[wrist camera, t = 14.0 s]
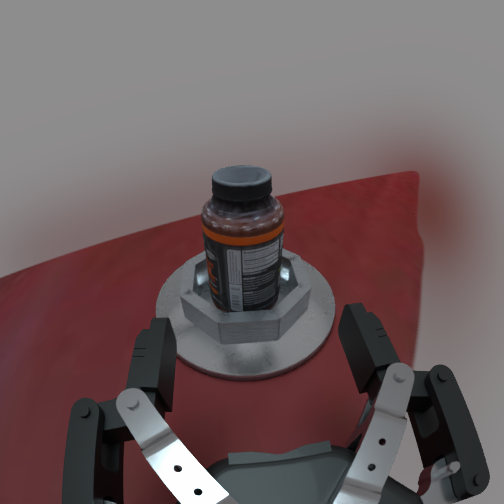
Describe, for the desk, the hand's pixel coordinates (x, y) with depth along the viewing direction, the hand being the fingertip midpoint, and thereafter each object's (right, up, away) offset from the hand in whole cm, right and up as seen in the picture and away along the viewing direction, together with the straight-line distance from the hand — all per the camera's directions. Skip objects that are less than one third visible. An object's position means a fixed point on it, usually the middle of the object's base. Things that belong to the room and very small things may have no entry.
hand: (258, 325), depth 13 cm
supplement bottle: (-1, -1, +13) cm, 13 cm away
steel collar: (-1, -1, +13) cm, 13 cm away
